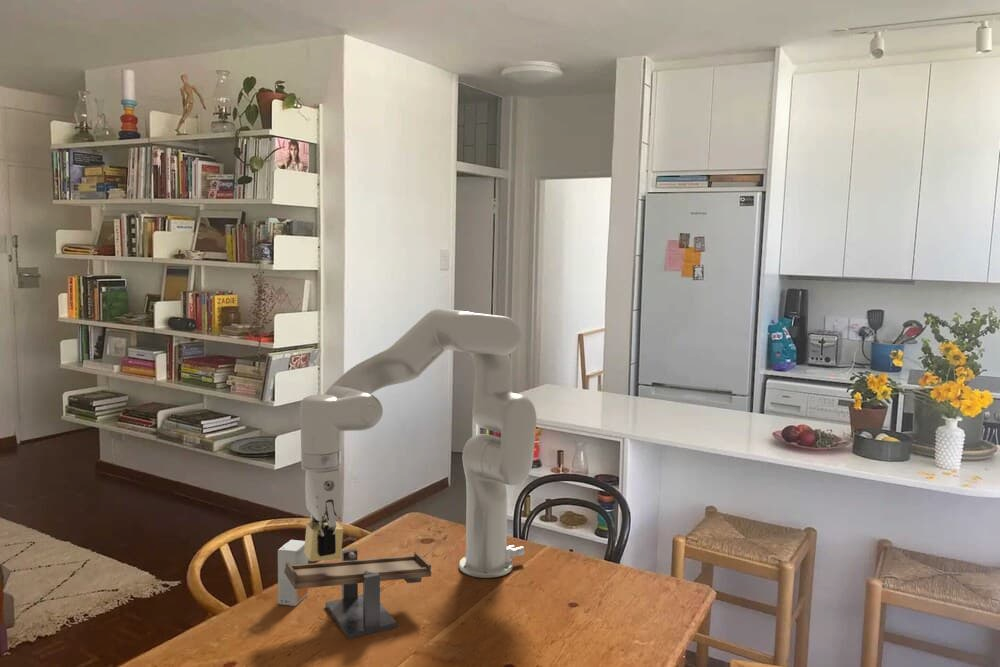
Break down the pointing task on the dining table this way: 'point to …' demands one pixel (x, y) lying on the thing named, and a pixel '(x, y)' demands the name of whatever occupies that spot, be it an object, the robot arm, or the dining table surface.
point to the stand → (360, 607)
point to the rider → (312, 542)
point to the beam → (357, 571)
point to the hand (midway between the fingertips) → (323, 548)
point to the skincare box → (286, 591)
